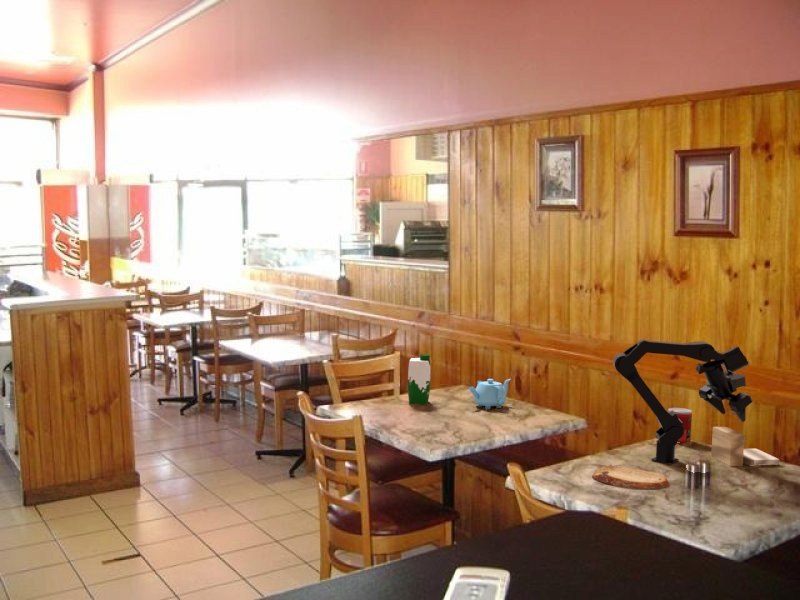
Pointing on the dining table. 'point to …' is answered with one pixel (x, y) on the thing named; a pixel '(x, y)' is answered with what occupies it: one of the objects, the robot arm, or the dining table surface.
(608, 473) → the bread slice
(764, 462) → the board
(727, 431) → the light brown wooden block
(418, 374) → the milk carton
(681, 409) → the canned food
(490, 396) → the teapot
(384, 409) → the dining table surface
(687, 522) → the dining table surface
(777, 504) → the dining table surface
